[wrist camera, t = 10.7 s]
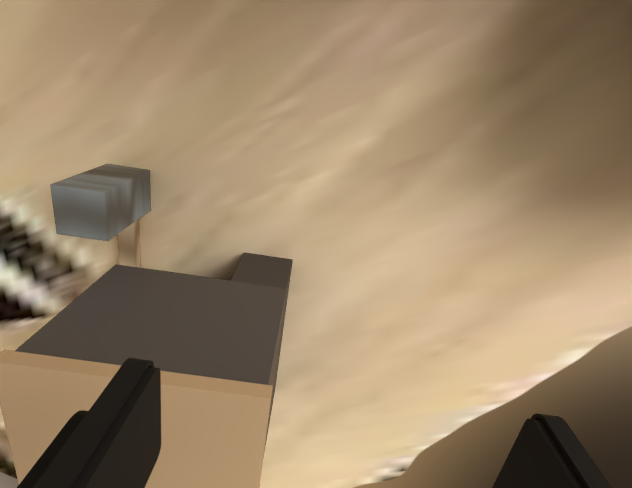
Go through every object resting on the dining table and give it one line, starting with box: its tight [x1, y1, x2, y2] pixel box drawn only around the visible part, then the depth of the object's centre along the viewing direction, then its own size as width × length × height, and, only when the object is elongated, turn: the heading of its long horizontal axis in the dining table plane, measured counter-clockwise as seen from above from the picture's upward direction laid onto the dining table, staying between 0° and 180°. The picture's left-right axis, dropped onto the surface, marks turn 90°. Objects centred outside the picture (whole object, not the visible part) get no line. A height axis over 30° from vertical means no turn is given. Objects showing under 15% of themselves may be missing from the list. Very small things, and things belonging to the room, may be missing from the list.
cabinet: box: [0, 253, 292, 488], centre depth 34 cm, size 19×16×19 cm
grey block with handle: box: [50, 164, 151, 268], centre depth 37 cm, size 23×4×8 cm, turn 172°
